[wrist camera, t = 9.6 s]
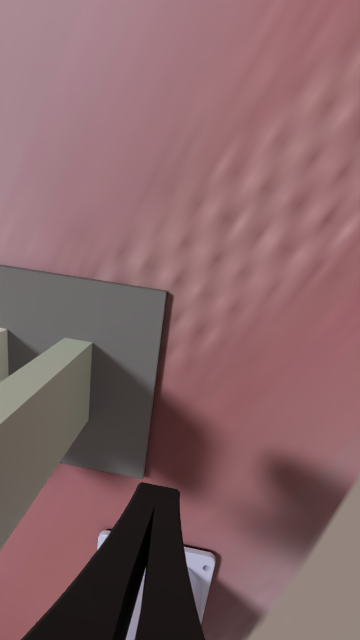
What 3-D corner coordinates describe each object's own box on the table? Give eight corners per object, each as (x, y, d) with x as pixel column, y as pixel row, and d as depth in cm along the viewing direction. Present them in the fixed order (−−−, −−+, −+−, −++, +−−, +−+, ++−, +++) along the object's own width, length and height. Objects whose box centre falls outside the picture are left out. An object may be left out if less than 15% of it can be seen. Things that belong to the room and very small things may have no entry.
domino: (92, 342, 17) (-39, 458, 8) (88, 419, 18) (-26, 588, 9) (64, 337, 17) (-94, 447, 8) (63, 415, 18) (-74, 577, 10)
